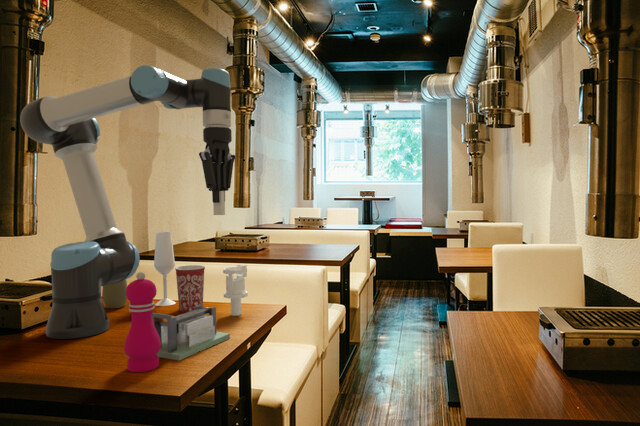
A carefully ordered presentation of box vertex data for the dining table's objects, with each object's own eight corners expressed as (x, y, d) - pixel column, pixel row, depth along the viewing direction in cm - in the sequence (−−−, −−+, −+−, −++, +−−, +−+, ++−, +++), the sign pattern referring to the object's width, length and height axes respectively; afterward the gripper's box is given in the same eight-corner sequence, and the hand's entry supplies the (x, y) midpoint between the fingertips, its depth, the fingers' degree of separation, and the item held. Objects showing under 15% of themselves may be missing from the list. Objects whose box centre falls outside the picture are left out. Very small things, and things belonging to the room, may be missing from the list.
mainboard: (195, 333, 126) (195, 328, 126) (229, 338, 122) (229, 333, 121) (141, 354, 110) (141, 348, 110) (179, 360, 105) (178, 355, 105)
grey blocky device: (193, 330, 124) (193, 299, 124) (222, 334, 120) (221, 301, 120) (146, 348, 110) (145, 312, 110) (176, 353, 106) (175, 316, 106)
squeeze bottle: (134, 305, 161) (132, 251, 160) (112, 310, 154) (110, 253, 153) (118, 303, 165) (117, 250, 164) (96, 308, 158) (95, 252, 157)
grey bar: (202, 311, 123) (202, 303, 123) (211, 312, 121) (211, 304, 121) (159, 326, 110) (158, 317, 110) (169, 328, 108) (168, 318, 108)
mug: (205, 312, 150) (204, 268, 149) (174, 313, 148) (173, 269, 148) (207, 303, 162) (206, 263, 162) (179, 304, 161) (178, 264, 160)
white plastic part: (242, 317, 142) (241, 266, 141) (220, 316, 144) (218, 266, 143) (251, 312, 149) (250, 263, 148) (230, 311, 151) (229, 262, 150)
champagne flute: (168, 306, 159) (166, 232, 158) (150, 305, 161) (148, 232, 160) (180, 301, 165) (178, 231, 164) (162, 301, 167) (160, 231, 166)
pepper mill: (165, 361, 105) (163, 268, 105) (155, 373, 98) (152, 274, 97) (132, 361, 105) (129, 269, 104) (119, 374, 98) (116, 275, 97)
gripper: (212, 123, 124) (215, 216, 125) (242, 129, 136) (244, 214, 137) (190, 126, 128) (192, 215, 129) (221, 131, 139) (223, 214, 140)
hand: (219, 214), depth 133 cm, fingers closed
